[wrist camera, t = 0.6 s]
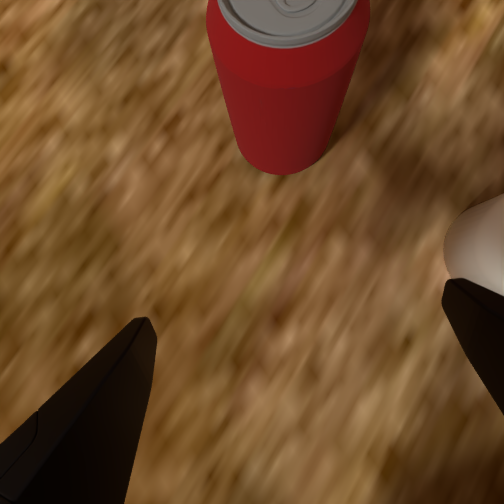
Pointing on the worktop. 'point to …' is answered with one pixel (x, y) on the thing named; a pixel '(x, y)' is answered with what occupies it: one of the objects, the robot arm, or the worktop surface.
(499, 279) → the sugar jar
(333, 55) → the beverage can
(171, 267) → the worktop surface
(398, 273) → the worktop surface
